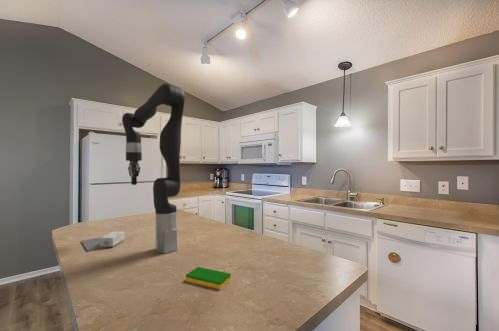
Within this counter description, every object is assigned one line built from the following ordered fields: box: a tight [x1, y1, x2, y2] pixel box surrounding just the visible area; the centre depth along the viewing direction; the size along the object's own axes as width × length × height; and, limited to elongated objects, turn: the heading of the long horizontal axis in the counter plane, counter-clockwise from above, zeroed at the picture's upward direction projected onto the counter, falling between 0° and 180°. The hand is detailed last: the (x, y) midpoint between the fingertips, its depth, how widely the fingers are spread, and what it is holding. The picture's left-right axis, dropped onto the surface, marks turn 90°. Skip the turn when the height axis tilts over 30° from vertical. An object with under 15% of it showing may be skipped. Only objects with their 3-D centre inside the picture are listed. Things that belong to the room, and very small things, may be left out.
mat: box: [80, 236, 118, 252], centre depth 117 cm, size 19×12×1 cm, turn 43°
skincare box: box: [100, 230, 125, 248], centre depth 116 cm, size 6×4×12 cm
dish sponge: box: [185, 266, 232, 290], centre depth 78 cm, size 7×14×2 cm, turn 66°
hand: (134, 184), depth 123 cm, fingers closed
